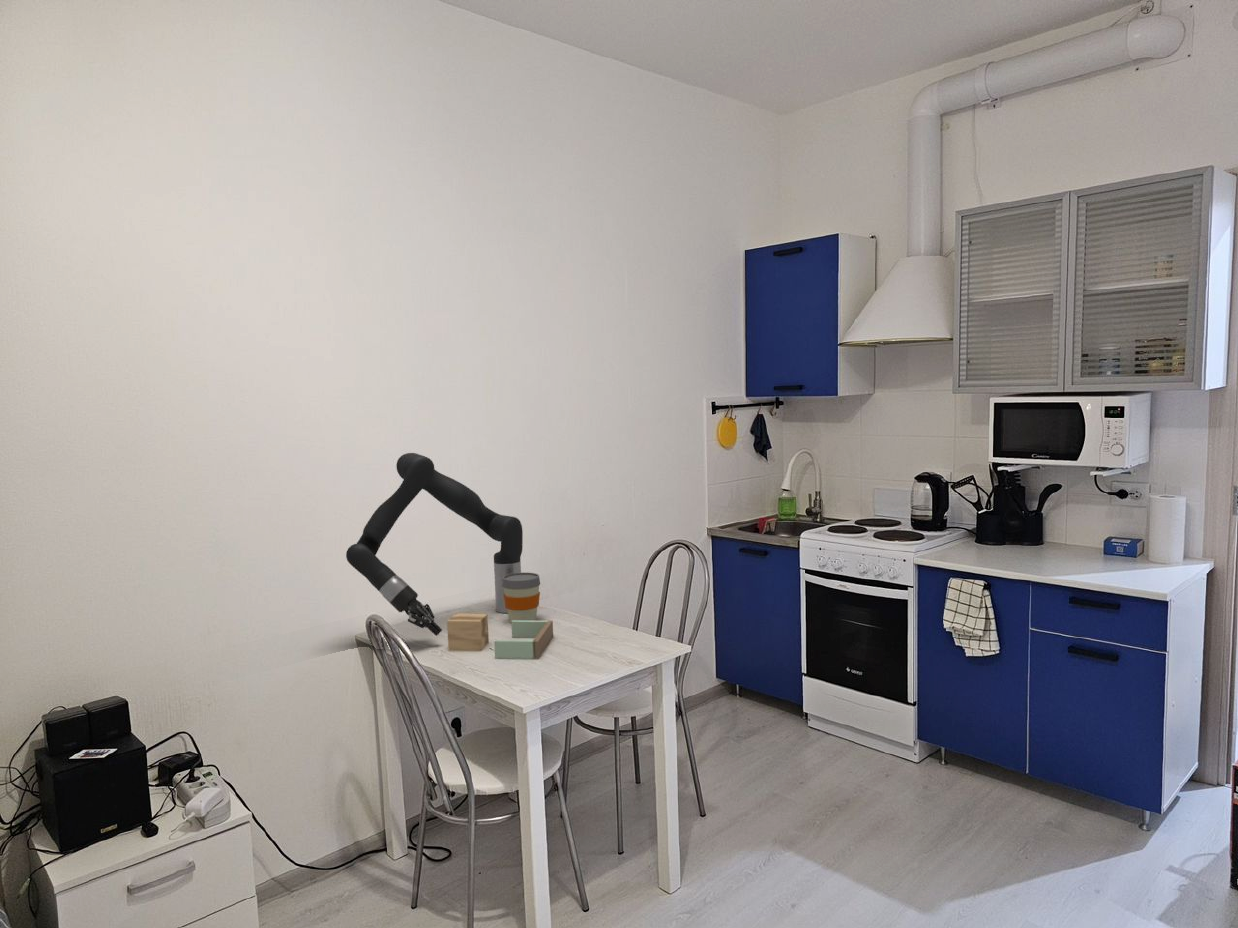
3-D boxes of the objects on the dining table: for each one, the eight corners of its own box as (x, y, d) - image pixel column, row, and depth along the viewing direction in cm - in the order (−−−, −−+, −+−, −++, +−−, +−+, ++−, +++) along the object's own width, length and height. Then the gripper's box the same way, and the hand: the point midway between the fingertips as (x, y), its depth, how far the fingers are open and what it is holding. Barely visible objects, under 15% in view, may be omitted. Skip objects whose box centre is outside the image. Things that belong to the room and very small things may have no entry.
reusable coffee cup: (501, 617, 276) (499, 574, 274) (538, 614, 279) (536, 571, 278) (506, 627, 264) (504, 582, 262) (544, 623, 267) (543, 579, 266)
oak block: (457, 642, 251) (455, 613, 250) (488, 642, 249) (487, 613, 248) (448, 650, 243) (447, 621, 242) (481, 651, 241) (479, 621, 241)
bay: (513, 635, 255) (512, 620, 255) (553, 636, 253) (552, 620, 253) (494, 658, 234) (494, 641, 234) (538, 658, 233) (537, 641, 232)
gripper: (397, 590, 240) (439, 631, 240) (414, 579, 253) (454, 618, 253) (381, 607, 241) (423, 648, 241) (399, 596, 254) (439, 634, 254)
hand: (439, 632), depth 247 cm, fingers closed
